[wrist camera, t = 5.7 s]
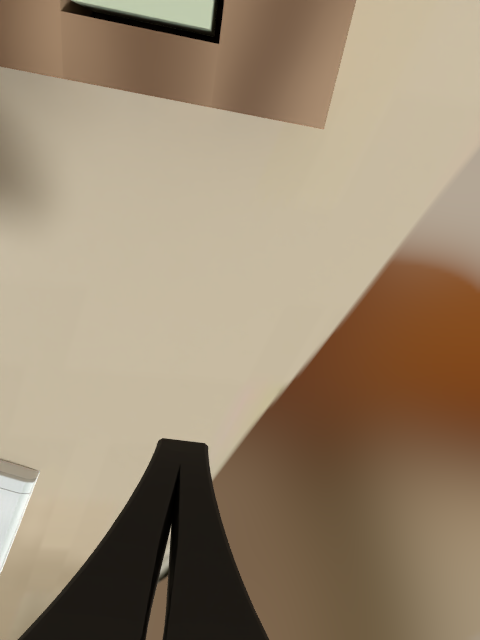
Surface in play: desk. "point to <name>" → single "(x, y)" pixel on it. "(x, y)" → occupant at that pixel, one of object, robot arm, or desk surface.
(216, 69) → the button panel
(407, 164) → the desk surface
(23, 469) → the hard drive
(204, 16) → the sage button
